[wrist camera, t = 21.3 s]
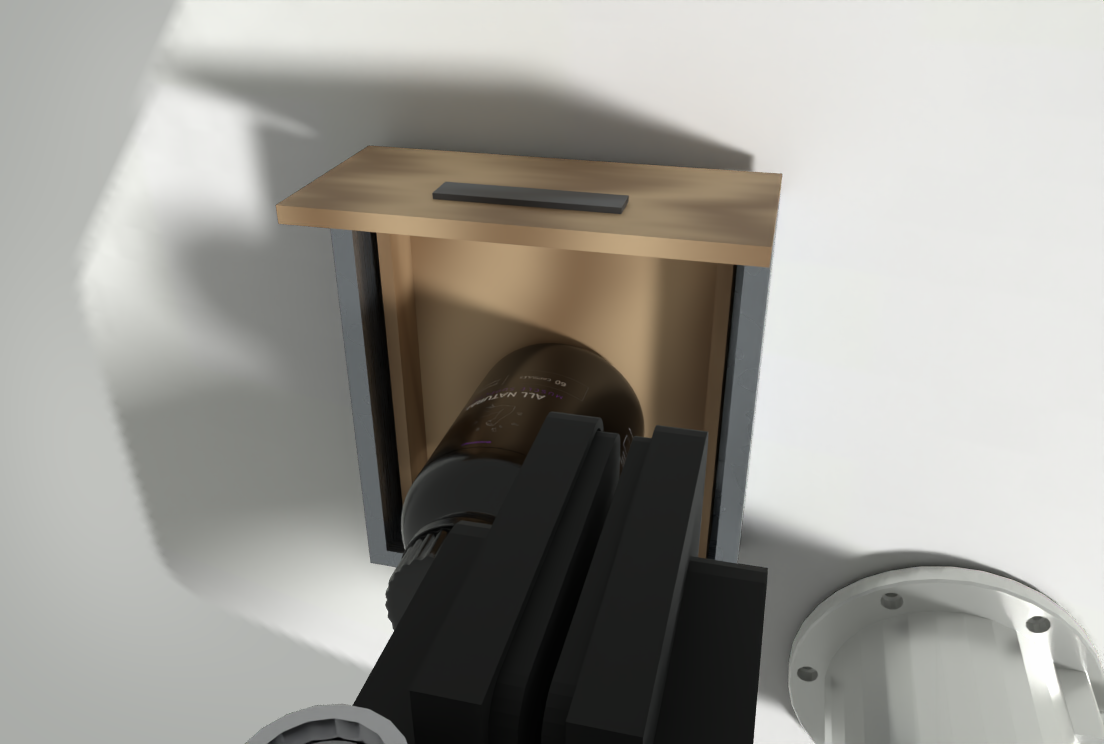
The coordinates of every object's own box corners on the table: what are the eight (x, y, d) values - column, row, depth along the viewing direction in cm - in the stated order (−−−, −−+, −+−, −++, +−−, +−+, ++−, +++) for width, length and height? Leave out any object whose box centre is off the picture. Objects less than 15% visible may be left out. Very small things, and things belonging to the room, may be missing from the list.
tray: (782, 167, 32) (772, 240, 26) (740, 537, 39) (724, 659, 33) (368, 140, 35) (274, 198, 29) (401, 486, 43) (332, 589, 37)
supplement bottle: (545, 301, 36) (431, 482, 25) (683, 414, 36) (627, 633, 26) (448, 413, 39) (314, 611, 29) (576, 513, 40) (489, 740, 30)
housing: (780, 193, 33) (773, 238, 29) (739, 550, 41) (729, 624, 37) (381, 164, 37) (327, 201, 33) (411, 499, 44) (370, 562, 40)
